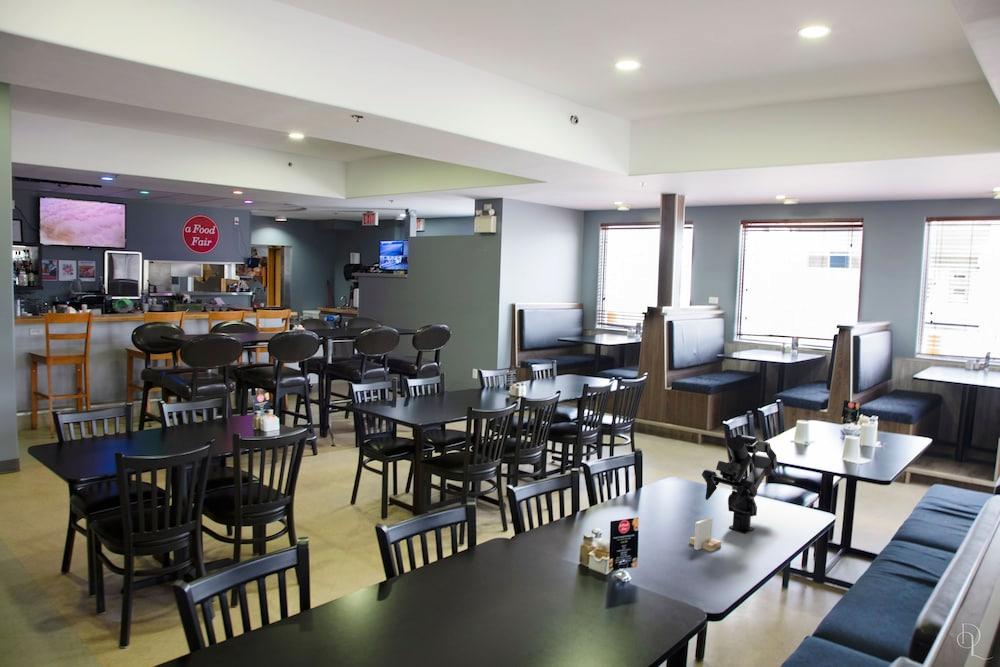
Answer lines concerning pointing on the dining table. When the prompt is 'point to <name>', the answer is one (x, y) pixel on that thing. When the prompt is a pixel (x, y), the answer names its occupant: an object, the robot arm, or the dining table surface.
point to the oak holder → (708, 544)
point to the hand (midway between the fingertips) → (718, 502)
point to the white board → (702, 532)
